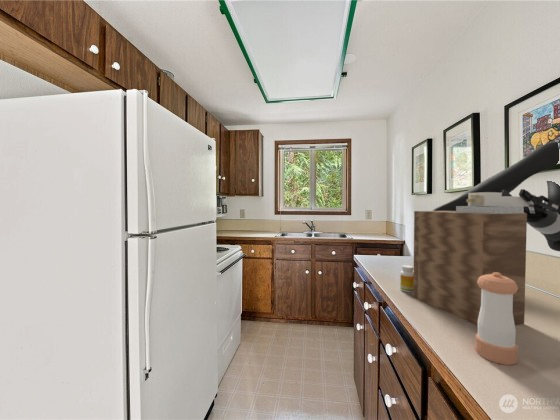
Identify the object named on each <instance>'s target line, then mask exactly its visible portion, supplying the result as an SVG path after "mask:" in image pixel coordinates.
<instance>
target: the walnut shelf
mask: <svg viewBox="0 0 560 420" xmlns="http://www.w3.org/2000/svg"><path fill="white" fill-rule="evenodd" d="M413 213H414V216H413V217H414V219H413V222H414V223H413V224H414V225H413V226H414V227H413V272H414V285H413V292H412V293H413V294H412V295H413V297H414V298H415V299H418V300H420V301H422V302H424V303H426V304H429V305H431V306H433V307H435V308H437V309H440V310H442V311H444V312H446V313H449V314H450V315H453V316H454V317H457V318H459V319H461V320H463V321H466V322H468V323H470V324H471V325H475V326H477V327H478V317H479V312H480V308H481V289H482V288H480V287H479V286H478V283H477V281H478V278H479V277H480V276H482V275H487V274H493V273H494V272H498V273H500V274H501V275H502V276H505V277H508V278H510V279H512V280H513V281H515V283H516V284H517V287H518V290H517V292H516V293H515V294H513V318H514V324H515V327H516V326H521V325H525V311H526V310H525V306H526V303H525V302H526V269H527V268H526V265H527V263H526V261H527V230H528V229H527V228H528V227H527V226H528V223H527V213H519V214H480V213H456V211H433V210H414V212H413Z"/></svg>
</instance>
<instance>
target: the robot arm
mask: <svg viewBox="0 0 560 420" xmlns="http://www.w3.org/2000/svg"><path fill="white" fill-rule="evenodd" d="M557 142H558V141H553V142H547V143H545V144H544V145H541V146H539V147H538V148H536V149H534V151H532V152H530V153H529V154H528V155H526V156H524V157H523V158H521V160H519V161H517V162H516V163H513V164H512V165H511V166H509V167H506V168H505V169H503V170H501V171H499V172H497V173H496V174H495V175H492V176H490V177H488V178H487V179H485V180H483V181H481V182H480V183H477V185H475V186H473V187H471V188H470V189H468V190H467V191H466V192H464V193H462V194H461V195H460V196H458V197H457V198H454V199H453V200H451V201H449V202H446V203H444V204H442V205H439V206H436V207H434V209H432V211H456V206H468V202H467V199H468V193H480V192H496V193H502V196H513V195H512V194H511V193H512V192H513V191H515V189H517V188H518V187H519V186H520V185H521V184H522V183H523V182H525V181H526V180H527V179H529V178H530V177H532V176H534V175H536V174H538V173H541V172H543V170H545V169H547V168H550V167H553V166H554V165H556V164H557V163H558V161H559V148H558V143H557ZM546 183H547V184H546V185H547V186H546V187H547V197H546V196H544V195H538V196H536V195H535V194H532V193H531V192H530V191H528V190H526V189H524V188H522V189H520V190H519V193H518V197H521V198H523V199H524V200H525V201H528V204H529V207H528V206H524V213H527V225H529V226H530V227H531V228H533V229H534V230H535V231H537V232H539V233H540V234H542V236H544V238H545V240H546V242H547V246H548V247H549V248H550V250H553V251H556V252H560V186H559V185H558V184H556V183H555V182H552V181H546Z"/></svg>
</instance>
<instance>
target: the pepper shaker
mask: <svg viewBox="0 0 560 420" xmlns="http://www.w3.org/2000/svg"><path fill="white" fill-rule="evenodd" d="M477 283H478V286H479V287H480V288H482V289H481V308H480V312H479V317H478V326H477V332H476V333H475V343H474V344H475V345H474V348H475V352H476V353H477V354H478V355H479V356H481V357H482V358H484V359H486V360H487V361H491V362H492V361H493V363H496V364H499V363H500V364H501V365H505V366H513V365H514V366H515V365H516V364H517V363H518V344H516V335H517V334H516V332H517V331H516V326H515V324H514V318H513V294H515V293H516V292H517V290H518V287H517V284H516V283H515V281H513V280H512V279H510V278H508V277H505V276H502V275H501V274H500V273H498V272H494V273H493V274H487V275H482V276H480V277H479V278H478V281H477Z"/></svg>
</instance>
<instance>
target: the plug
mask: <svg viewBox="0 0 560 420" xmlns="http://www.w3.org/2000/svg"><path fill="white" fill-rule="evenodd" d="M467 202H468V206H528V207H529V204H528V201H525V200H524V199H523V198H521V197H520V196H517V195H512V196H502V193H496V192H480V193H468V199H467Z"/></svg>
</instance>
